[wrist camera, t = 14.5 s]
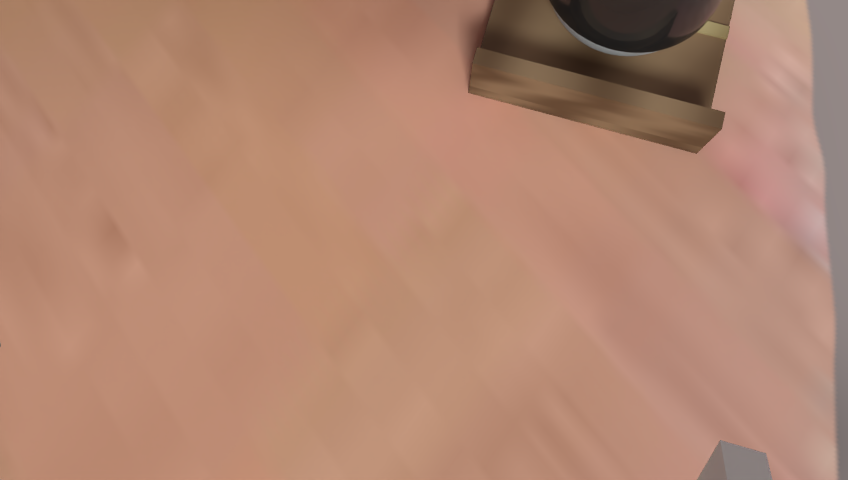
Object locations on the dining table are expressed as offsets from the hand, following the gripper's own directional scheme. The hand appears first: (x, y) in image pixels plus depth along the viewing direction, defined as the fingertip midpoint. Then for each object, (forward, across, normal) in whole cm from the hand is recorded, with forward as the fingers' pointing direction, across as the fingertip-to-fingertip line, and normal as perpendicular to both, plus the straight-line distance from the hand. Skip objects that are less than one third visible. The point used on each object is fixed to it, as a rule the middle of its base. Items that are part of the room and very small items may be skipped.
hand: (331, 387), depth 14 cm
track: (+40, +6, -2) cm, 40 cm away
